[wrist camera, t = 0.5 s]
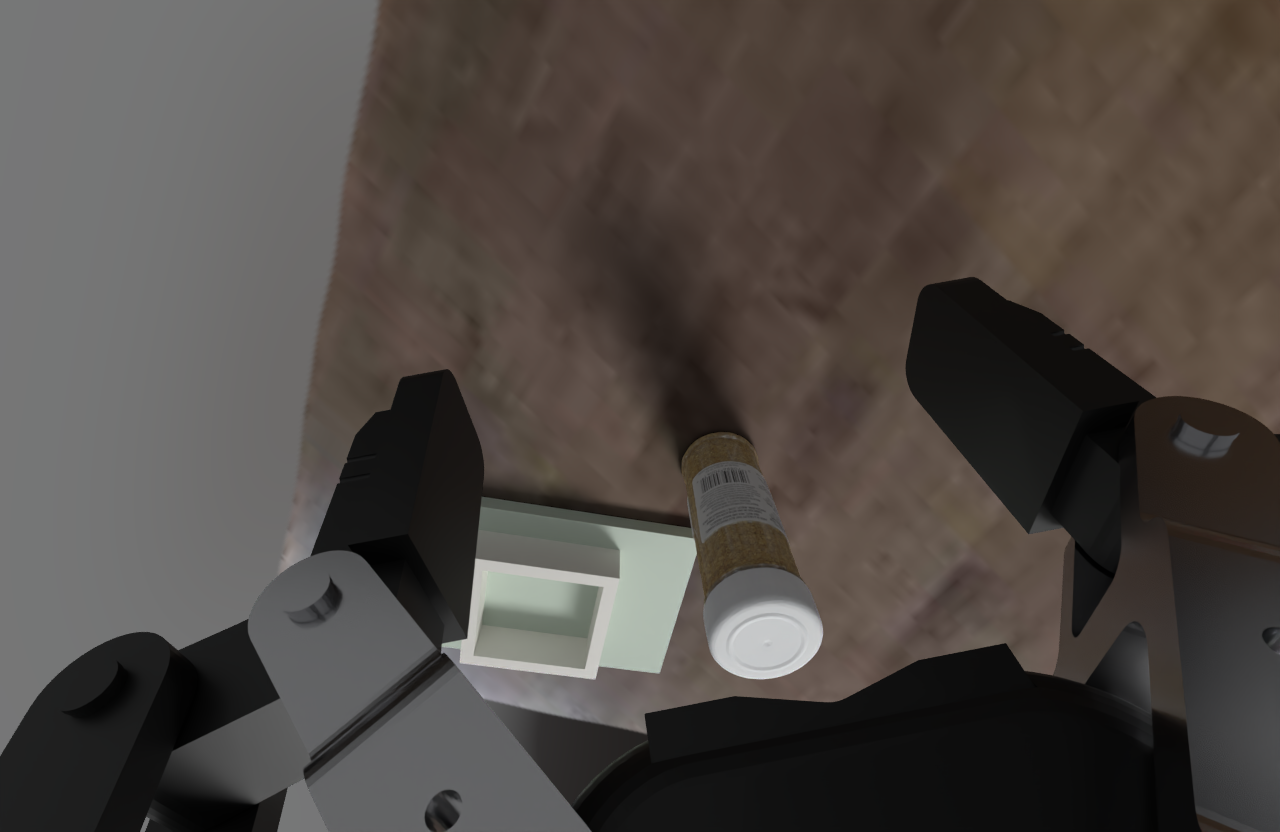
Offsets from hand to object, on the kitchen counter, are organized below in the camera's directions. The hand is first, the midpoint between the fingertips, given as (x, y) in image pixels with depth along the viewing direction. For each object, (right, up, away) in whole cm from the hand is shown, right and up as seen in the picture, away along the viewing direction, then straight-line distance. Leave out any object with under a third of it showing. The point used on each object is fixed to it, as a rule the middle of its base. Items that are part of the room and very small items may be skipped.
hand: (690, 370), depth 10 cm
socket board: (-7, -12, +29) cm, 32 cm away
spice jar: (+4, -3, +25) cm, 25 cm away
